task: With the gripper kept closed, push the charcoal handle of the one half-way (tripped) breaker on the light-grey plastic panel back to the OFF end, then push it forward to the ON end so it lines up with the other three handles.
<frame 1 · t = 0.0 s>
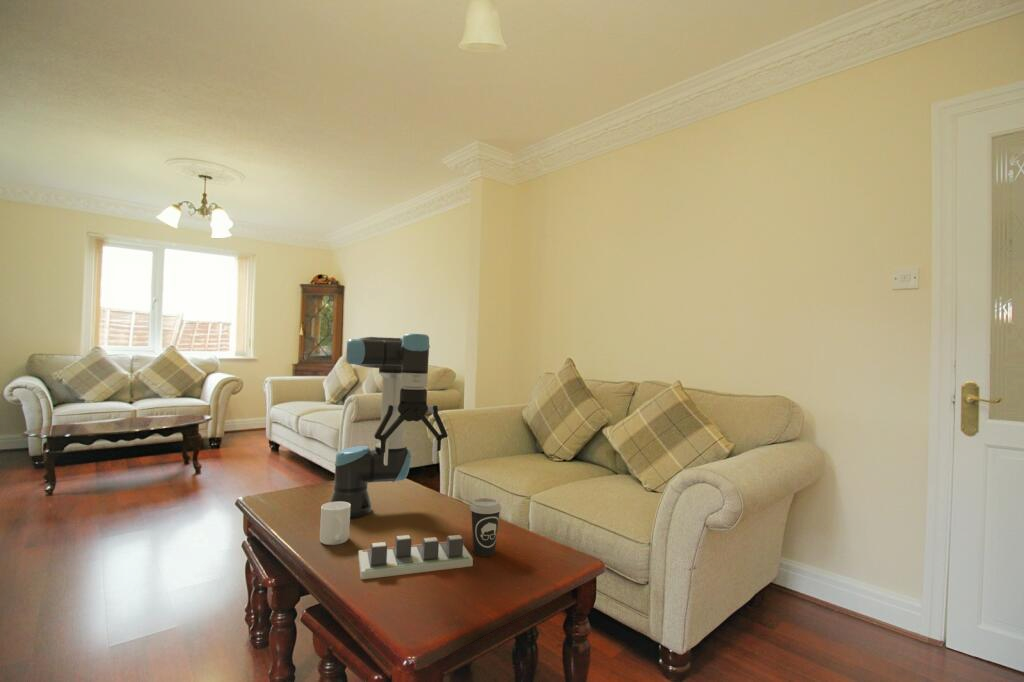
hand: (410, 463, 135), 28 cm above the table, fingers open, 13 cm apart
breaker 4: (454, 545, 136), point 5 cm above the table, slide at 7.0 cm
breaker 2: (403, 545, 134), point 5 cm above the table, slide at 3.5 cm
panel: (414, 561, 135), on the table
breaker 3: (430, 547, 133), point 5 cm above the table, slide at 7.0 cm
coffee cup: (483, 552, 144), on the table
mug: (335, 542, 147), on the table
breaker 1: (378, 553, 129), point 5 cm above the table, slide at 7.0 cm
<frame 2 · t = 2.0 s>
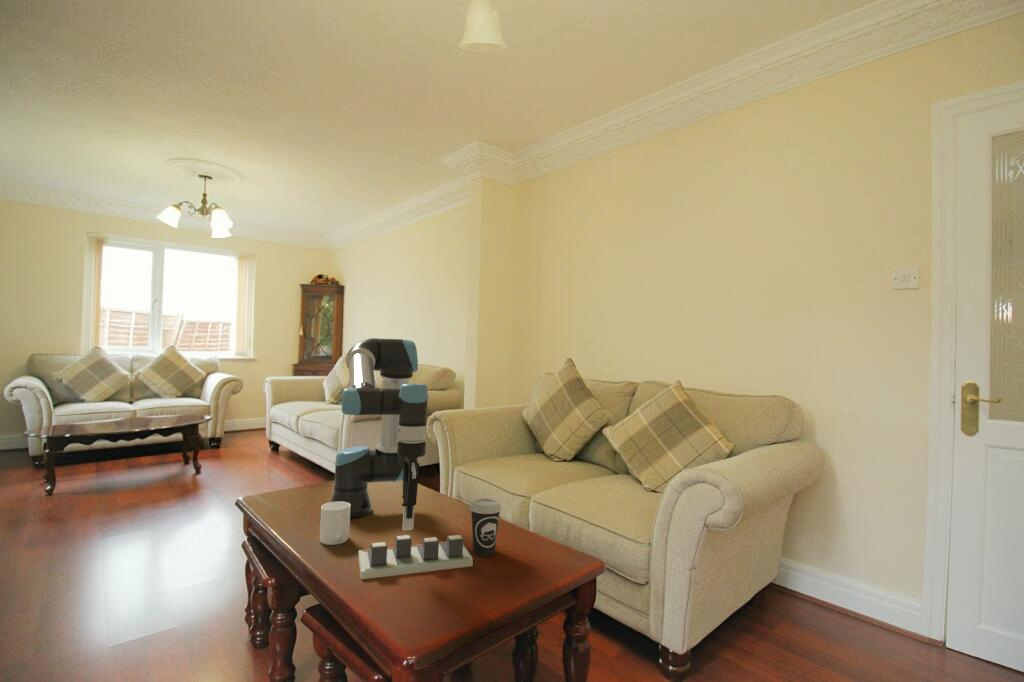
hand: (407, 529, 128), 12 cm above the table, fingers closed
nothing on the table moved.
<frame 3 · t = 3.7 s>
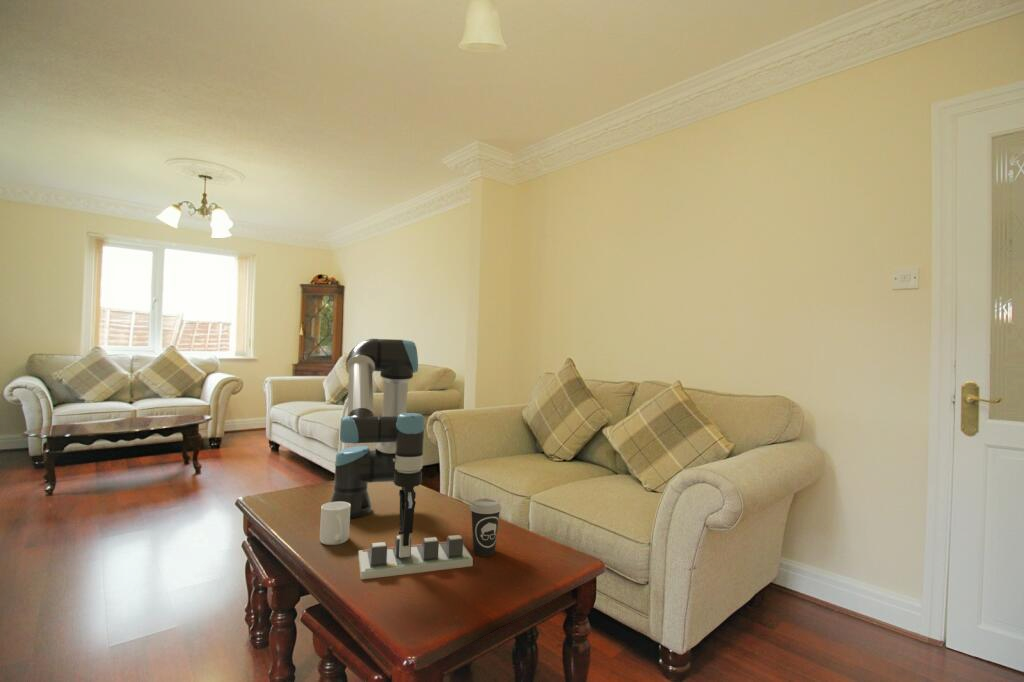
hand: (404, 556, 131), 3 cm above the table, fingers closed
breaker 2: (403, 545, 135), point 5 cm above the table, slide at 3.1 cm, touching gripper
everything else where it was.
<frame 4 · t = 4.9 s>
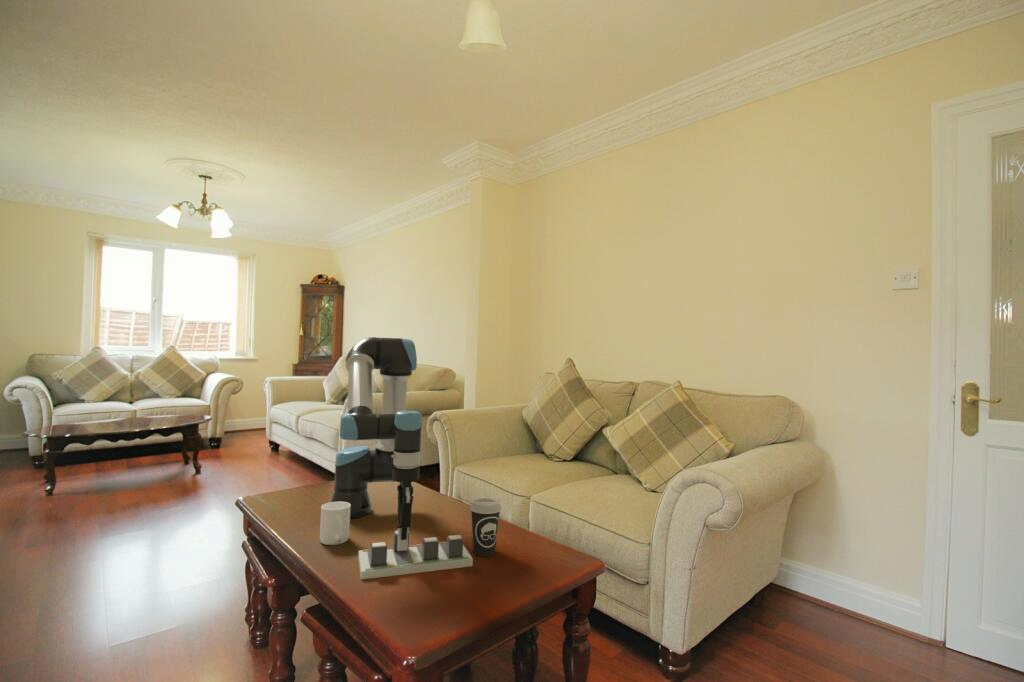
hand: (402, 549, 135), 3 cm above the table, fingers closed
breaker 2: (401, 540, 138), point 5 cm above the table, slide at -0.8 cm, touching gripper
everything else where it was.
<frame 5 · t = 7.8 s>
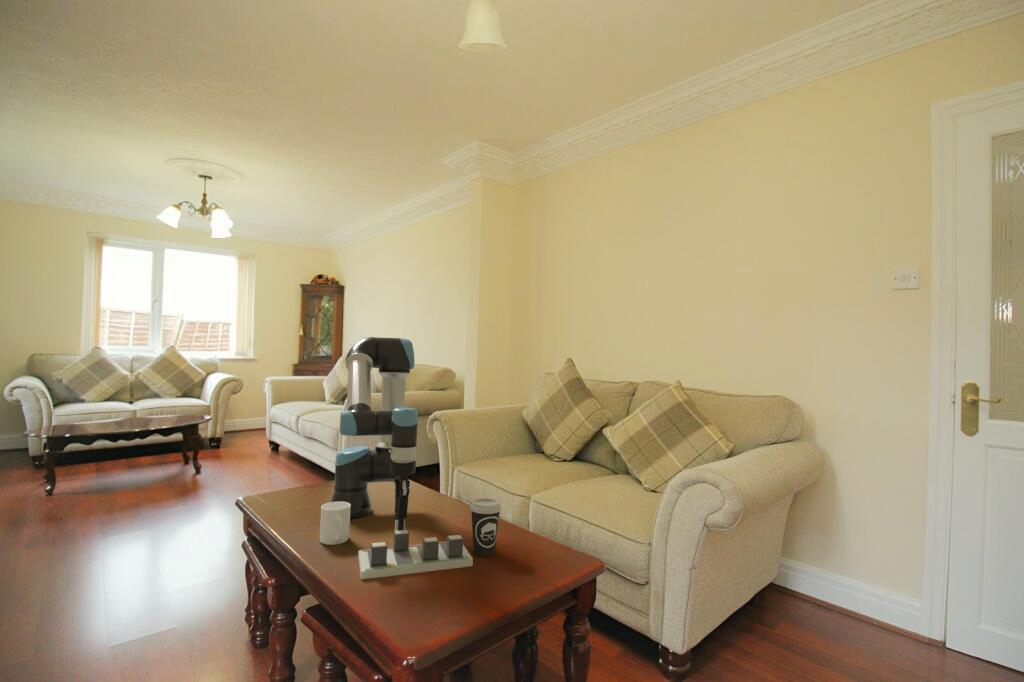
hand: (399, 540, 141), 4 cm above the table, fingers closed
nothing on the table moved.
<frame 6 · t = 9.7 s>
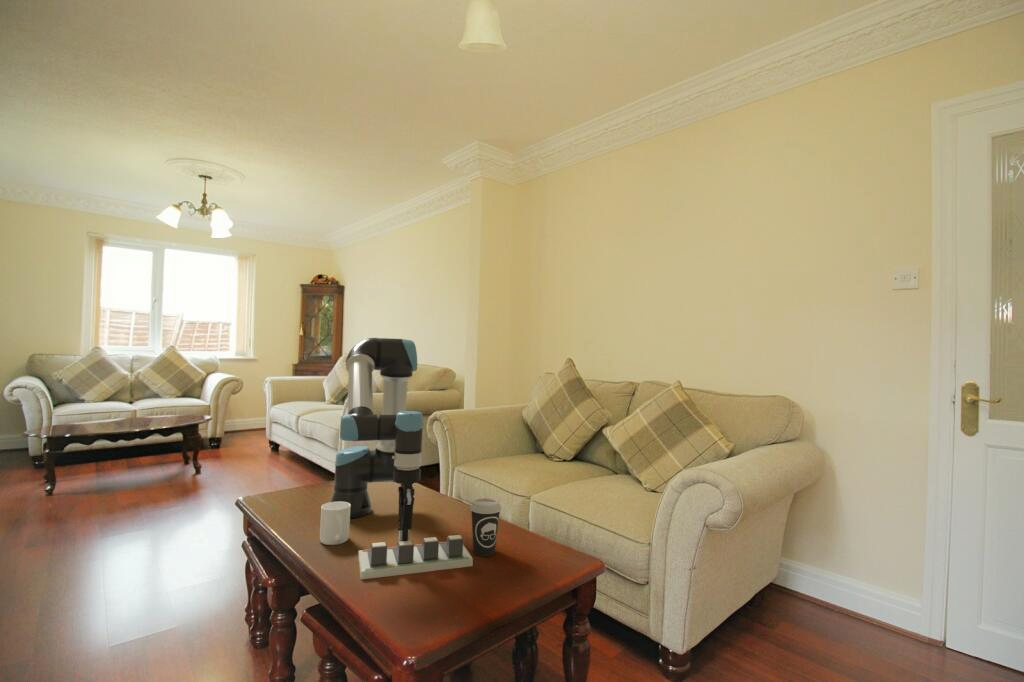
hand: (403, 552, 133), 3 cm above the table, fingers closed
breaker 2: (405, 551, 130), point 5 cm above the table, slide at 7.8 cm, touching gripper
everything else where it was.
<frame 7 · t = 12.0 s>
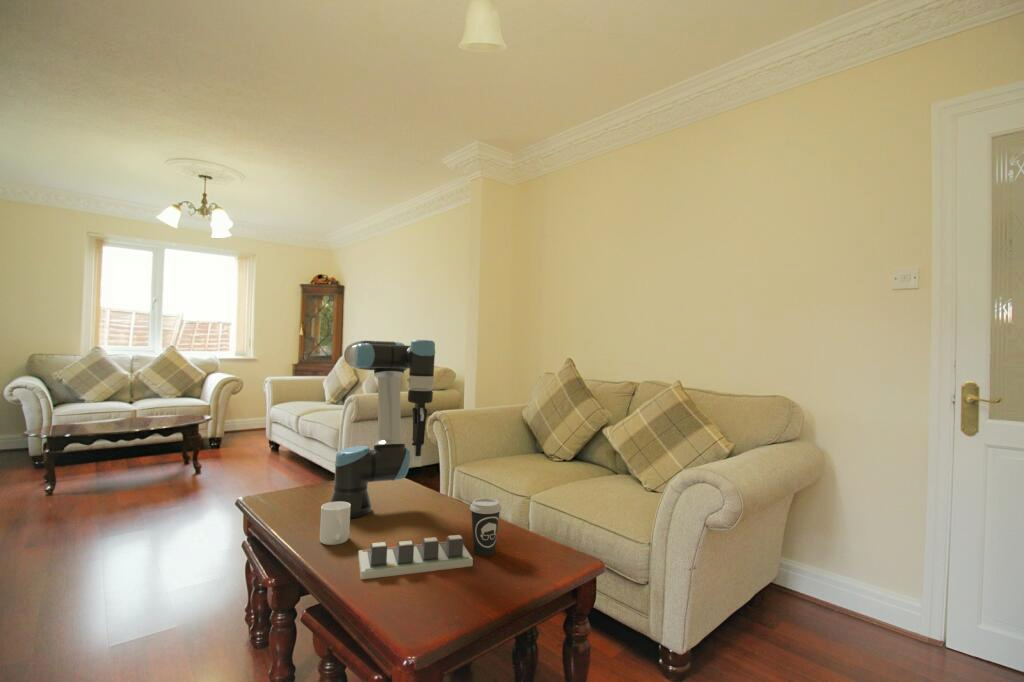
hand: (416, 465, 148), 24 cm above the table, fingers closed
breaker 2: (405, 551, 130), point 5 cm above the table, slide at 7.8 cm
everything else where it was.
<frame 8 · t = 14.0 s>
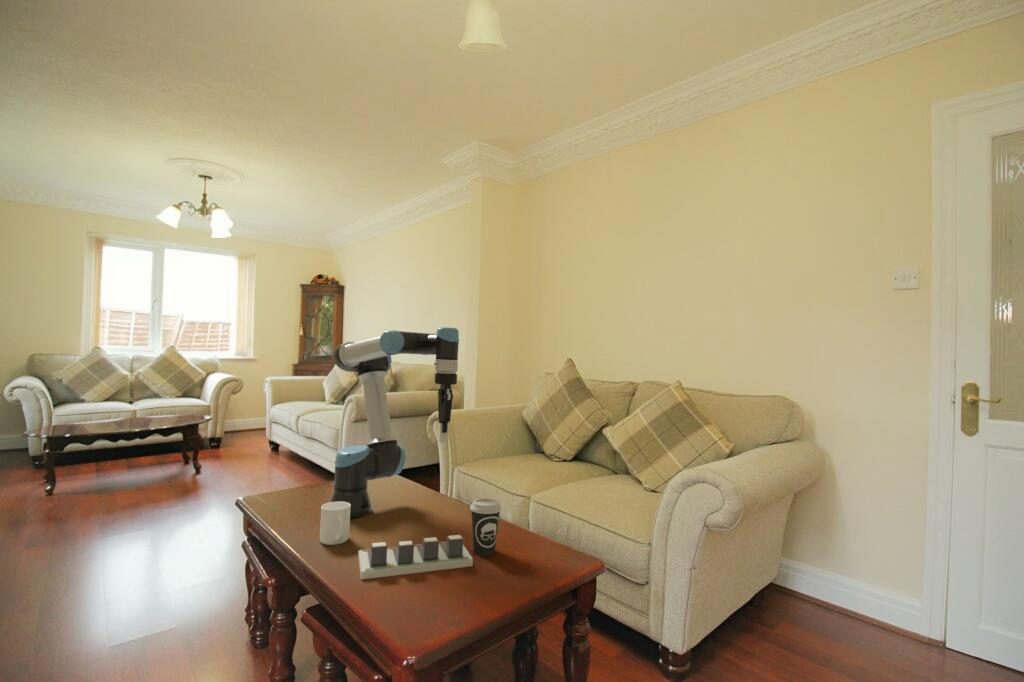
hand: (443, 441, 163), 29 cm above the table, fingers closed
nothing on the table moved.
at the end: breaker 2 slide at 7.8 cm; breaker 1 slide at 7.0 cm; breaker 3 slide at 7.0 cm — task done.
